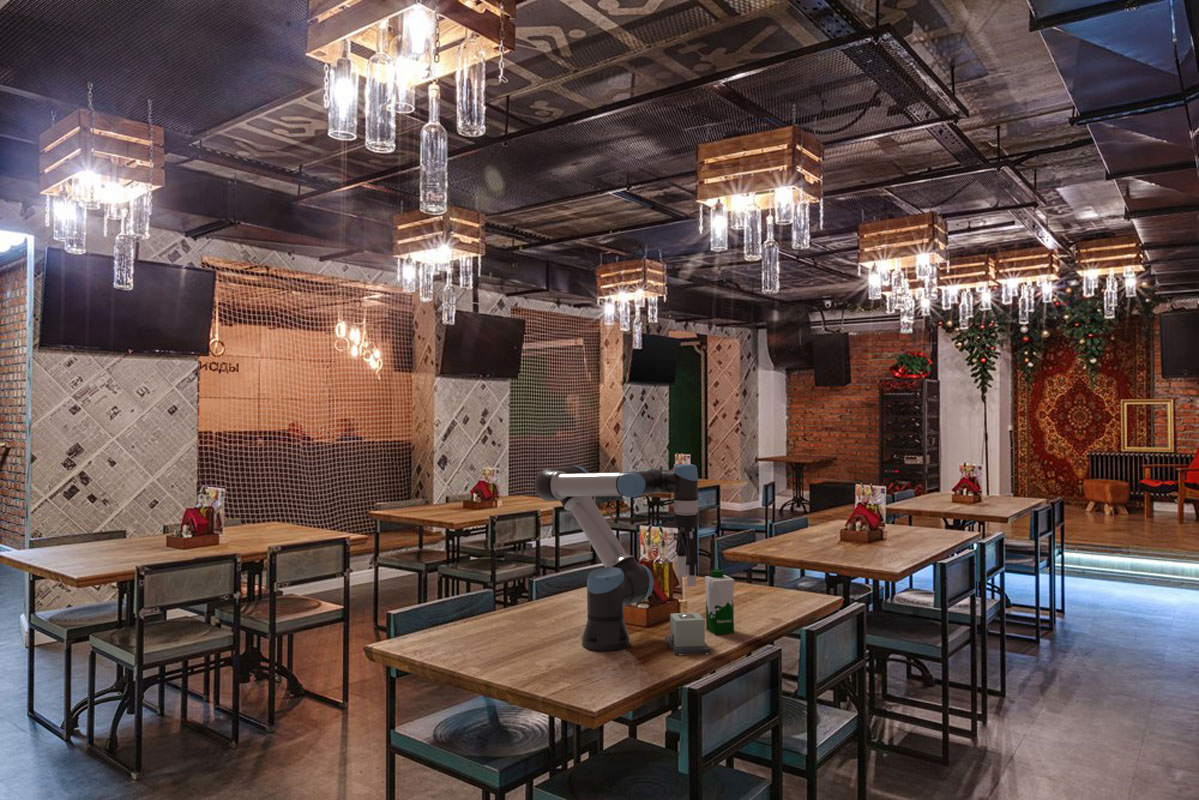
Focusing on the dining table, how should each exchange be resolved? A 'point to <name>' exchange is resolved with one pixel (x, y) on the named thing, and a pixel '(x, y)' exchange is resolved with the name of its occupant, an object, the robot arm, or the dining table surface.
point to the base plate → (688, 649)
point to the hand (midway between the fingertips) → (686, 581)
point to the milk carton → (719, 603)
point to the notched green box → (687, 630)
